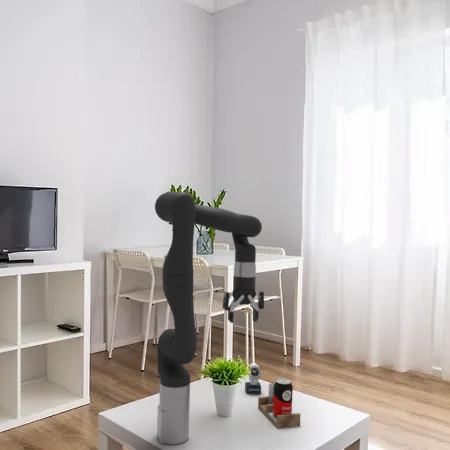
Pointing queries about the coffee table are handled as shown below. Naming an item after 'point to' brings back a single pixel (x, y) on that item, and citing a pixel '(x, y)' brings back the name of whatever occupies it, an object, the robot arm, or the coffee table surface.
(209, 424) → the coffee table surface
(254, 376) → the watch
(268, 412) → the wooden divided tray
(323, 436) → the coffee table surface
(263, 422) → the coffee table surface
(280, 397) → the beverage can
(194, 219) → the robot arm
